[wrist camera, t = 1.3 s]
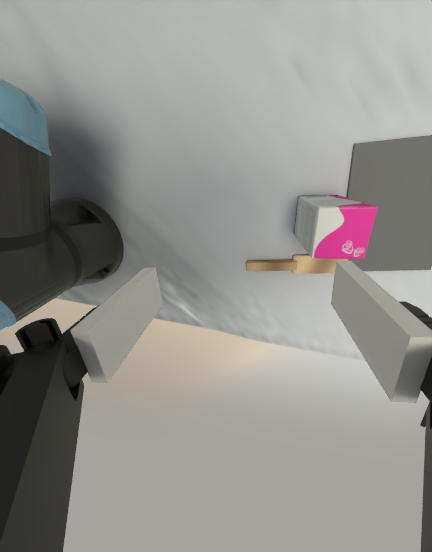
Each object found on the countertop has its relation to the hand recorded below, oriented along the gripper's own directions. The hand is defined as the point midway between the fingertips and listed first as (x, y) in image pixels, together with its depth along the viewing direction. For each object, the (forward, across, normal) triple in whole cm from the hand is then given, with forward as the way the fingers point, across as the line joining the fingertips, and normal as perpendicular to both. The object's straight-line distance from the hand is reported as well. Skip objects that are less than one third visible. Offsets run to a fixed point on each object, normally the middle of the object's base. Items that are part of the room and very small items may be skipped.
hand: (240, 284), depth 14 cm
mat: (+24, +20, 0) cm, 31 cm away
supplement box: (+24, +10, 0) cm, 26 cm away
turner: (+24, +8, -8) cm, 26 cm away
